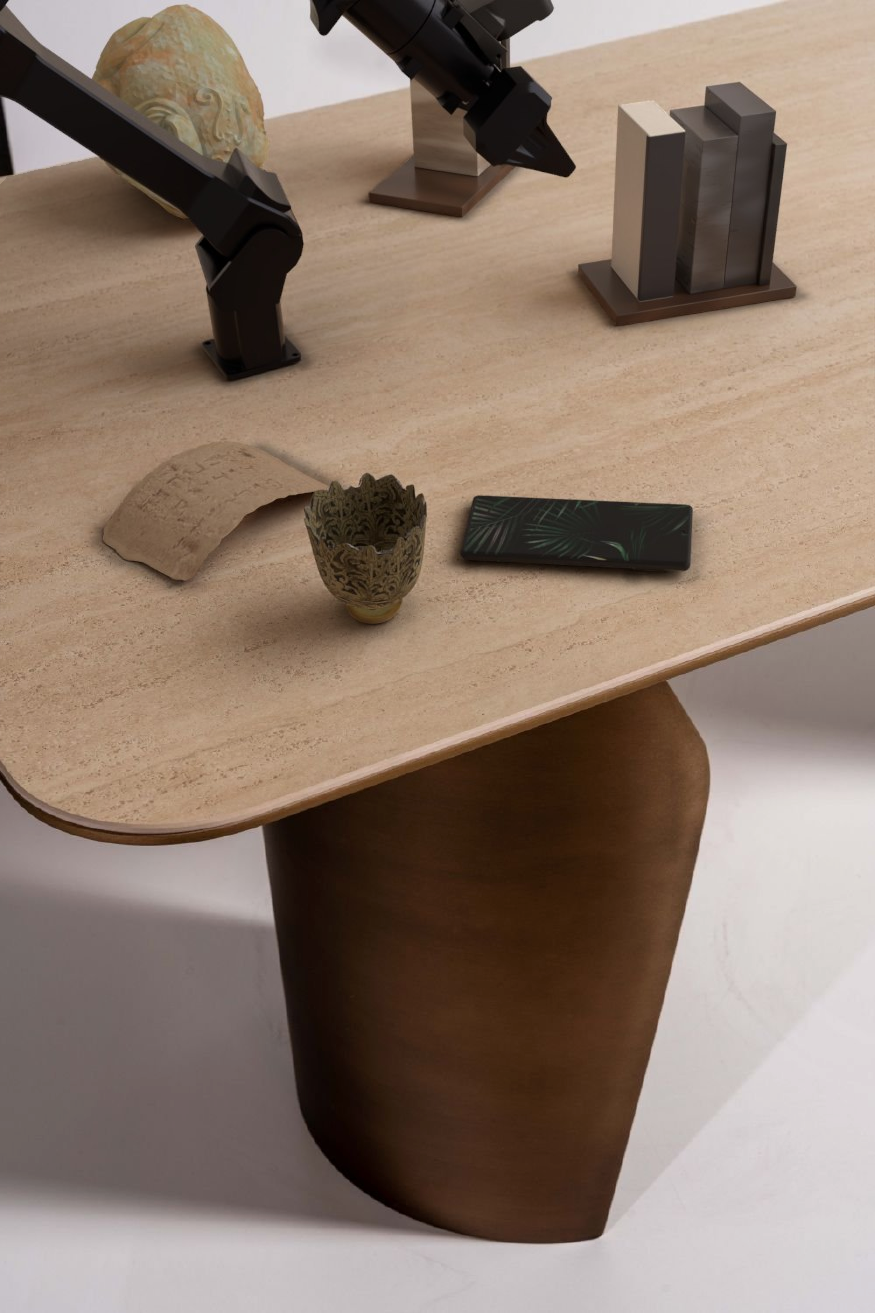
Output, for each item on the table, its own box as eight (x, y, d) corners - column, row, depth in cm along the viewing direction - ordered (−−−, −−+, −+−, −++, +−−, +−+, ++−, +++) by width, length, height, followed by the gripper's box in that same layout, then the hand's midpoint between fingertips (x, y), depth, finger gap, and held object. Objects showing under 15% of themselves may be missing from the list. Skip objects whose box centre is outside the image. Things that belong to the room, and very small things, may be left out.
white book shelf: (462, 217, 134) (457, 53, 124) (368, 202, 138) (357, 42, 128) (527, 155, 145) (527, 0, 135) (439, 142, 149) (433, -10, 139)
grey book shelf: (616, 326, 117) (625, 140, 107) (577, 274, 124) (582, 95, 114) (795, 296, 120) (821, 112, 110) (747, 247, 127) (766, 70, 117)
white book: (639, 302, 118) (649, 135, 109) (610, 266, 123) (617, 104, 114) (673, 297, 118) (686, 130, 109) (643, 261, 124) (653, 99, 114)
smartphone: (473, 493, 98) (693, 503, 96) (473, 505, 99) (692, 515, 96) (458, 552, 93) (690, 564, 91) (459, 564, 94) (689, 576, 91)
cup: (330, 658, 87) (318, 554, 82) (304, 588, 92) (291, 486, 87) (446, 633, 88) (441, 528, 83) (415, 565, 94) (408, 463, 88)
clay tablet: (189, 591, 92) (183, 558, 91) (93, 534, 98) (85, 502, 96) (344, 492, 100) (340, 460, 99) (247, 445, 106) (242, 413, 104)
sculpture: (46, 226, 139) (143, 201, 124) (44, 11, 137) (143, -41, 121) (201, 247, 150) (308, 226, 135) (202, 49, 148) (312, 5, 132)
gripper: (523, -41, 93) (670, 108, 102) (449, -107, 106) (584, 29, 115) (412, 97, 96) (563, 228, 106) (354, 16, 110) (492, 138, 119)
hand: (552, 149), depth 111 cm, fingers open, 9 cm apart
